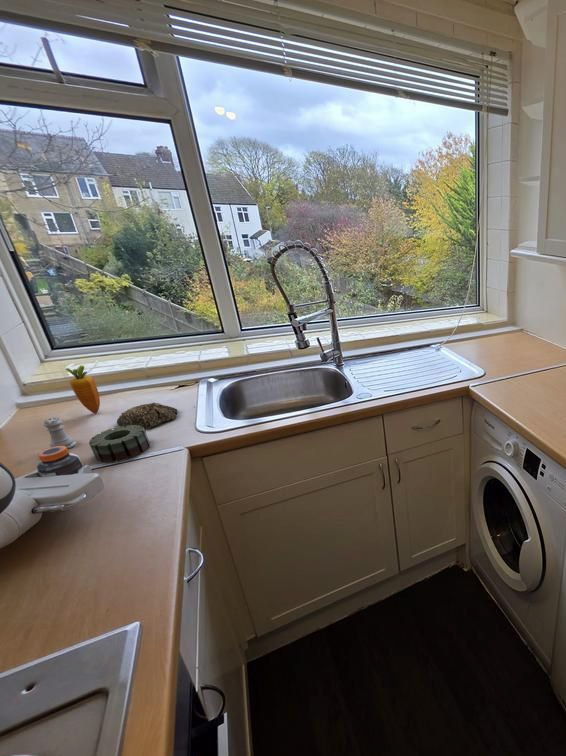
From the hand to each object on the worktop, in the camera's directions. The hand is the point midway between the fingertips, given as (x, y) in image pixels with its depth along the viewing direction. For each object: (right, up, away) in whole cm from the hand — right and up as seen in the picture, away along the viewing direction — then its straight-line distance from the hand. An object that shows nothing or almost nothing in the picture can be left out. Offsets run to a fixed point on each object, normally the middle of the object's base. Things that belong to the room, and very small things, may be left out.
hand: (66, 469), depth 85 cm
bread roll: (-11, +7, +32) cm, 35 cm away
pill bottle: (0, -6, +2) cm, 6 cm away
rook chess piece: (-21, +2, +18) cm, 27 cm away
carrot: (-30, +9, +35) cm, 47 cm away
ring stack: (-4, +1, +17) cm, 18 cm away
